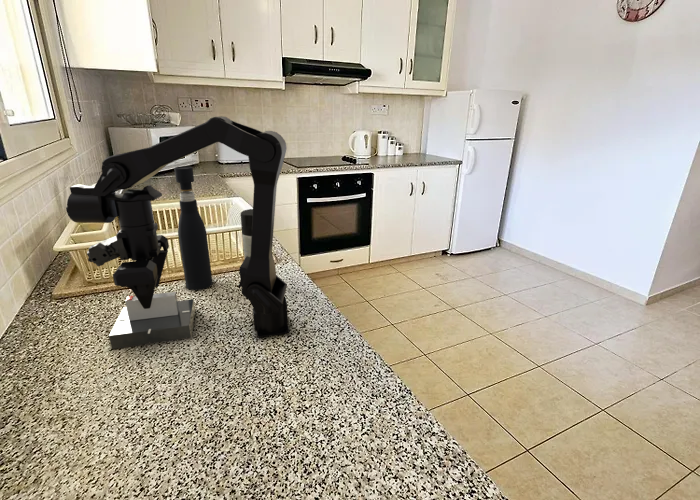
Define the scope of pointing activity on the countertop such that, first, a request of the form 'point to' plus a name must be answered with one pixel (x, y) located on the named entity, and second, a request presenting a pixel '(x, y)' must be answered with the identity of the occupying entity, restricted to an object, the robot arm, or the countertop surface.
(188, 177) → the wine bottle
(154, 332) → the block
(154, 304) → the knob
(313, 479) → the countertop surface
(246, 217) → the spray can
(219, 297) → the countertop surface
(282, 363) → the countertop surface
